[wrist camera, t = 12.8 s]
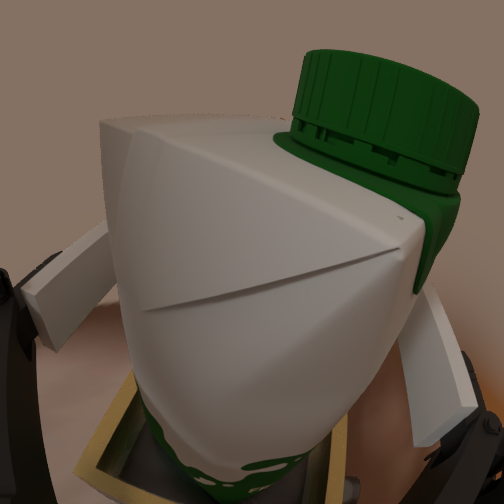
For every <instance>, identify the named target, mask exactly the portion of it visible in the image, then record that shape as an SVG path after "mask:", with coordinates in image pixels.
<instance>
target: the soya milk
mask: <svg viewBox="0 0 504 504" xmlns="http://www.w3.org/2000/svg"><path fill="white" fill-rule="evenodd" d="M479 115H480V113H479V108H478V106H477V104H476V103H475V102H474V101H473V100H472V99H471V98H469V97H468V96H466V95H465V94H464V93H462V92H461V91H459V90H458V89H456V88H454V87H453V86H451V85H449V84H448V83H446V82H444V81H442V80H440V79H438V78H436V77H434V76H432V75H429V74H427V73H425V72H422V71H420V70H418V69H415V68H412V67H410V66H407V65H404V64H401V63H398V62H395V61H391V60H388V59H384V58H380V57H376V56H372V55H368V54H363V53H356V52H351V51H343V50H330V49H320V50H312V51H309V52H307V53H306V56H304V60H303V65H302V71H301V75H300V80H299V85H298V90H297V95H296V99H295V104H294V108H293V112H292V116H294V118H293V121H292V122H290V121H286V120H283V119H278V118H274V117H265V116H250V115H224V114H222V115H221V114H180V115H153V116H137V117H125V118H114V119H106V120H100V121H99V125H100V145H101V164H102V178H103V190H104V200H105V209H106V218H107V225H108V233H109V240H110V246H111V253H112V259H113V265H114V270H115V276H116V282H117V288H118V294H119V301H120V308H121V315H122V321H123V327H124V332H125V337H126V342H127V347H128V352H129V356H130V361H131V365H132V369H133V374H134V378H135V382H136V386H137V389H138V393H139V397H140V400H141V404H142V408H143V411H144V414H145V418H146V421H147V424H148V427H149V429H150V431H151V434H152V435H153V436H154V438H155V439H156V440H157V441H158V443H159V444H160V445H161V446H162V447H163V448H164V450H165V451H166V452H167V453H168V454H169V455H170V456H171V457H172V458H173V460H174V461H175V462H176V463H177V464H178V465H179V466H180V467H181V468H182V469H183V470H184V471H185V472H186V473H187V474H188V475H189V476H190V477H191V478H192V479H193V480H194V481H195V482H197V483H198V484H199V485H200V486H201V487H202V488H203V489H204V490H205V491H207V492H208V493H209V494H210V495H211V496H212V497H214V498H215V499H216V500H217V501H218V502H220V503H221V504H237V503H239V502H241V501H243V500H245V499H247V498H249V497H251V496H252V495H254V494H256V493H258V492H260V491H262V490H263V489H265V488H267V487H269V486H270V485H272V484H274V483H275V482H277V481H278V480H279V479H281V478H282V477H283V476H284V475H286V474H287V473H288V472H289V471H291V470H292V469H293V468H294V467H295V466H297V465H298V464H299V463H300V462H301V461H302V460H303V459H304V458H305V457H306V456H307V455H308V454H309V453H310V452H311V451H312V450H313V449H314V448H315V447H316V446H317V445H318V444H319V443H320V442H321V441H322V440H323V439H324V438H325V437H326V436H327V435H328V434H329V432H330V431H331V430H332V429H333V428H334V427H335V426H336V425H337V423H338V422H339V421H340V420H341V419H342V418H343V417H344V415H345V414H346V413H347V412H348V411H349V409H350V408H351V407H352V406H353V405H354V403H355V402H356V401H357V400H358V398H359V397H360V396H361V395H362V393H363V392H364V391H365V390H366V388H367V387H368V386H369V384H370V383H371V381H372V380H373V379H374V377H375V375H376V374H377V372H378V371H379V369H380V367H381V365H382V364H383V362H384V360H385V358H386V357H387V355H388V353H389V351H390V349H391V348H392V346H393V344H394V342H395V340H396V339H397V337H398V335H399V333H400V331H401V330H402V328H403V326H404V324H405V322H406V320H407V318H408V316H409V314H410V312H411V310H412V308H413V306H414V303H415V301H416V299H417V297H418V295H419V292H420V290H421V289H422V287H423V285H424V283H425V281H426V278H427V276H428V274H429V272H430V269H431V267H432V265H433V263H434V260H435V257H436V256H437V254H438V253H439V251H440V250H441V248H442V247H443V245H444V243H445V242H446V240H447V238H448V236H449V234H450V232H451V230H452V228H453V226H454V223H455V219H456V217H457V214H458V210H459V206H460V201H461V198H460V194H459V192H458V191H457V188H458V185H459V182H460V180H461V177H462V175H464V172H465V167H466V165H467V161H468V158H469V154H470V151H471V147H472V143H473V140H474V136H475V132H476V128H477V124H478V119H479Z"/></svg>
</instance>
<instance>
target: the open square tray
mask: <svg viewBox="0 0 504 504" xmlns="http://www.w3.org/2000/svg"><path fill="white" fill-rule="evenodd" d="M347 422H348V412H347V413H346V414H345V415H344V417H343V418H342V419H341V420H340V421H339V422H338V423H337V425H336V426H335V427H334V428H333V429H332V430H331V431H330V432H329V434H328V435H327V436H326V437H325V438H324V439H323V440H322V441H321V442H320V443H319V444H318V445H317V446H316V447H315V448H314V449H313V450H312V451H311V452H310V453H309V454H308V455H307V456H306V457H305V458H304V459H303V460H302V461H301V462H300V463H299V464H298V465H297V466H295V467H294V468H293V469H292V470H291V471H289V472H288V473H287V474H286V475H284V476H283V477H282V478H281V479H279V480H278V481H277V482H275V483H274V484H272V485H270V486H269V487H267V488H265V489H263V490H262V491H260V492H258V493H256V494H254V495H252V496H251V497H249V498H247V499H245V500H243V501H241V502H239V503H237V504H356V503H357V501H358V498H359V495H360V481H359V479H358V478H357V477H354V476H345V465H346V447H347ZM73 473H74V474H75V475H76V476H78V477H79V478H80V479H82V480H83V481H84V482H86V483H87V484H88V485H90V486H91V487H93V488H94V489H96V490H97V491H98V492H100V493H101V494H103V495H104V496H106V497H107V498H109V499H111V500H113V501H115V502H117V503H119V504H221V503H220V502H218V501H217V500H216V499H215V498H214V497H212V496H211V495H210V494H209V493H208V492H207V491H205V490H204V489H203V488H202V487H201V486H200V485H199V484H198V483H197V482H195V481H194V480H193V479H192V478H191V477H190V476H189V475H188V474H187V473H186V472H185V471H184V470H183V469H182V468H181V467H180V466H179V465H178V464H177V463H176V462H175V461H174V460H173V458H172V457H171V456H170V455H169V454H168V453H167V452H166V451H165V450H164V448H163V447H162V446H161V445H160V444H159V443H158V441H157V440H156V439H155V438H154V436H153V435H152V434H151V431H150V429H149V427H148V424H147V421H146V418H145V414H144V411H143V408H142V404H141V400H140V397H139V393H138V389H137V386H136V382H135V378H134V374H133V369H132V370H131V372H130V373H129V375H128V377H127V378H126V380H125V382H124V383H123V385H122V387H121V388H120V390H119V392H118V393H117V395H116V397H115V398H114V400H113V402H112V403H111V405H110V407H109V409H108V410H107V412H106V414H105V415H104V417H103V419H102V421H101V422H100V424H99V426H98V428H97V429H96V431H95V433H94V435H93V436H92V438H91V440H90V442H89V443H88V445H87V447H86V449H85V451H84V452H83V454H82V456H81V458H80V460H79V461H78V463H77V465H76V467H75V469H74V471H73Z"/></svg>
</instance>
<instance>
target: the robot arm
mask: <svg viewBox="0 0 504 504" xmlns="http://www.w3.org/2000/svg"><path fill="white" fill-rule="evenodd" d="M116 283H117V282H116V276H115V270H114V265H113V259H112V253H111V246H110V240H109V233H108V225H107V218H106V219H105V220H104V221H102V222H101V223H100V224H98V225H97V226H96V227H94V228H93V229H91V230H90V231H89V232H88V233H86V234H85V235H84V236H82V237H81V238H80V239H78V240H77V241H76V242H75V243H73V244H72V245H71V246H69V247H68V248H67V249H66V250H65V251H60V252H58V253H56V254H53V255H52V256H50V257H49V258H48V259H46V260H45V261H44V262H43V263H42V264H40V265H39V266H38V267H36V270H33V271H32V272H31V273H29V274H28V275H27V276H26V277H25V278H24V279H23V280H21V282H19V283H18V284H17V285H16V286H15V287H14V288H13V287H12V284H11V281H10V278H9V275H8V272H7V271H6V270H5V269H2V268H0V504H58V503H57V500H56V496H55V493H54V489H53V485H52V481H51V477H50V473H49V468H48V464H47V459H46V454H45V448H44V443H43V436H42V430H41V422H40V414H39V404H38V392H37V374H36V344H35V340H34V339H35V337H36V336H37V335H39V337H40V339H41V341H42V343H43V345H44V346H46V347H48V348H49V349H51V350H53V351H55V352H56V353H57V352H58V351H59V349H60V348H61V347H62V346H63V344H64V343H65V342H66V341H67V340H68V338H69V337H70V336H71V335H72V333H73V332H74V331H75V330H76V329H77V327H78V326H79V325H80V324H81V323H82V321H83V320H84V319H85V318H86V317H87V316H88V314H89V313H90V312H91V311H92V310H93V309H94V307H95V306H96V305H97V304H98V303H99V302H100V301H101V300H102V298H103V297H104V296H105V295H106V294H107V293H108V292H109V291H110V289H111V288H112V287H113V286H114V285H115V284H116ZM397 340H398V345H399V350H400V355H401V360H402V366H403V371H404V377H405V383H406V389H407V395H408V402H409V409H410V417H411V425H412V435H413V445H414V447H430V446H432V445H433V444H434V443H436V442H437V441H438V440H440V442H441V447H439V448H438V449H437V450H435V451H434V452H432V453H431V454H430V455H428V456H427V457H426V458H425V459H424V461H426V460H428V459H429V458H431V457H432V458H431V459H430V461H429V462H428V464H427V465H426V467H425V468H424V470H423V471H422V473H421V474H420V476H419V477H418V479H417V480H416V481H415V483H414V484H413V486H412V487H411V488H410V490H409V491H408V492H407V494H406V495H405V496H404V498H403V499H402V500H401V501H400V503H399V504H504V428H503V427H502V424H501V422H500V420H499V418H498V417H497V416H496V414H494V413H492V412H491V411H487V410H486V407H485V403H484V400H483V397H482V393H481V390H480V387H479V384H478V382H477V378H476V375H475V373H474V369H473V366H472V363H471V361H470V359H469V358H468V356H467V355H466V353H465V352H464V351H460V348H459V345H458V343H457V340H456V338H455V335H454V333H453V330H452V327H451V326H450V323H449V320H448V318H447V316H446V313H445V311H444V308H443V306H442V304H441V302H440V299H439V297H438V295H437V293H436V291H435V289H434V286H433V284H432V283H428V282H425V283H424V285H423V287H422V289H421V290H420V292H419V295H418V297H417V299H416V301H415V303H414V306H413V308H412V310H411V312H410V314H409V316H408V318H407V320H406V322H405V324H404V326H403V328H402V330H401V331H400V333H399V335H398V337H397ZM501 471H502V475H501V478H499V479H497V480H496V474H497V473H499V472H501Z"/></svg>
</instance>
